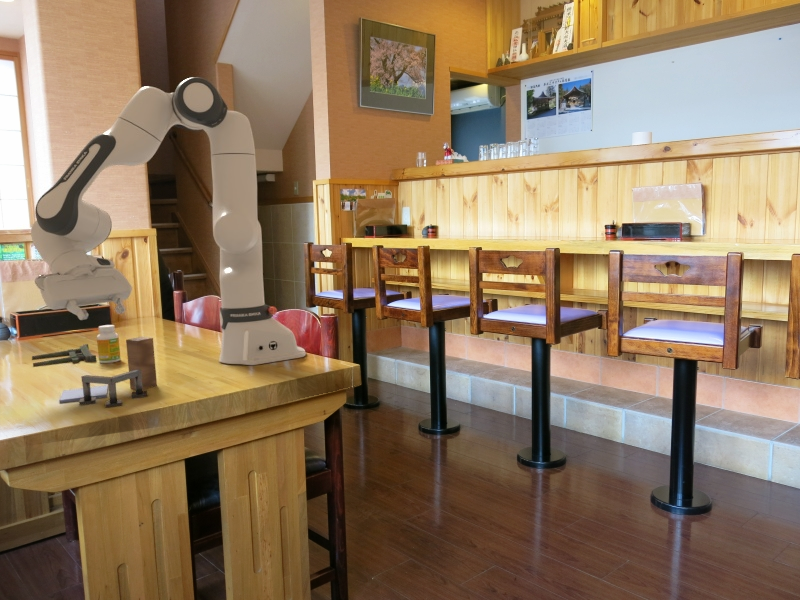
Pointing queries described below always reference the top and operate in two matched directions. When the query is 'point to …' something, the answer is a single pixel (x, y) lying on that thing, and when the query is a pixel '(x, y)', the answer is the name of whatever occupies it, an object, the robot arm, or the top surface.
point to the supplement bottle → (108, 344)
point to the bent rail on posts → (112, 387)
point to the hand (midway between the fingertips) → (103, 314)
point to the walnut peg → (142, 360)
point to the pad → (78, 394)
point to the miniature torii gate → (74, 357)
